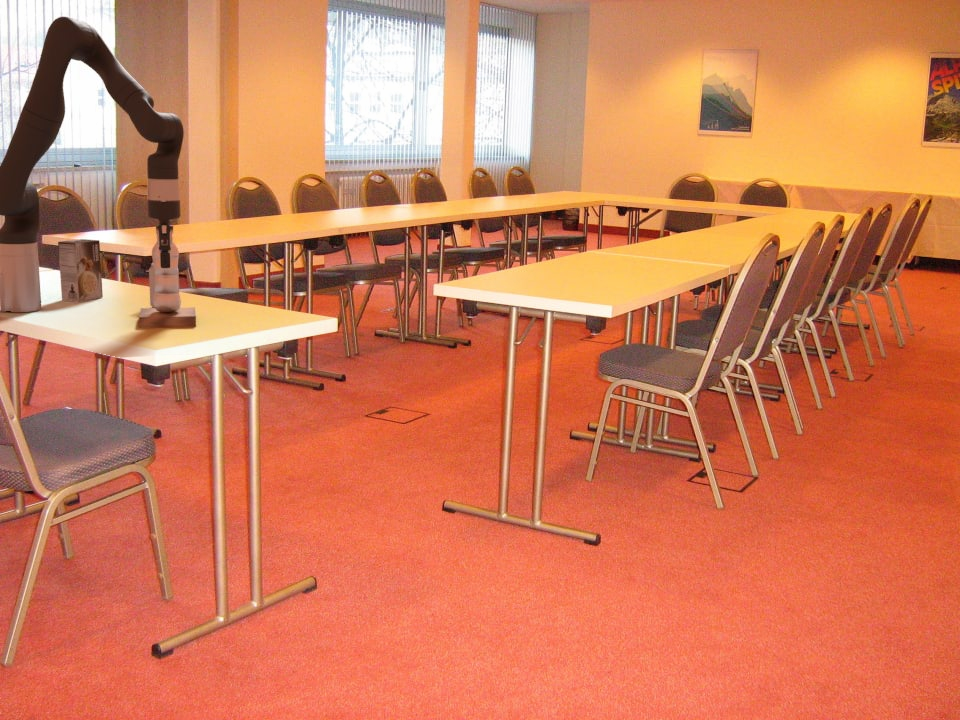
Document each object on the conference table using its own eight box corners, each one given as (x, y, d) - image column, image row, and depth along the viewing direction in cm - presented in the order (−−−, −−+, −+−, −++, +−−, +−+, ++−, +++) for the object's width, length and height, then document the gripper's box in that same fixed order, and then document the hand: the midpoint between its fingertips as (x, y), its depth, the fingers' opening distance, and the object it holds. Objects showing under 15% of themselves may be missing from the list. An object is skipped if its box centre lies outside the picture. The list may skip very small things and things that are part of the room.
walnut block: (139, 327, 237) (138, 317, 237) (141, 318, 249) (140, 308, 249) (196, 326, 241) (195, 316, 240) (195, 317, 253) (195, 307, 253)
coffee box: (85, 296, 280) (82, 238, 277) (103, 297, 278) (100, 240, 275) (60, 300, 272) (57, 241, 269) (79, 302, 270) (75, 242, 266)
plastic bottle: (155, 315, 240) (152, 231, 236) (152, 310, 246) (149, 229, 242) (183, 313, 243) (180, 231, 239) (179, 309, 249) (176, 228, 245)
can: (171, 310, 261) (169, 265, 259) (144, 309, 263) (143, 263, 260) (184, 306, 268) (183, 262, 266) (159, 304, 270) (157, 260, 267)
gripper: (148, 196, 244) (150, 262, 248) (146, 199, 231) (148, 269, 234) (180, 196, 246) (181, 262, 250) (180, 200, 233) (181, 269, 237)
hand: (165, 265), depth 242 cm, fingers open, 8 cm apart
